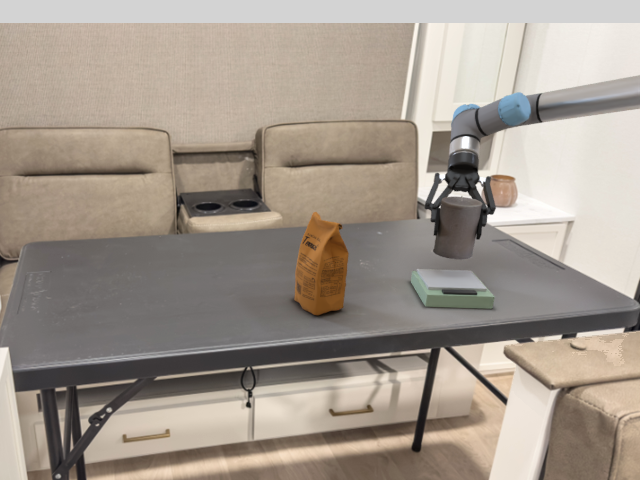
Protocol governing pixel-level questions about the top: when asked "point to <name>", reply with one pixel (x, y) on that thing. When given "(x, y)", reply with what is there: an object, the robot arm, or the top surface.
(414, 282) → the scale
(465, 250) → the pillar candle
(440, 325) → the top surface
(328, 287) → the coffee package
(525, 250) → the top surface
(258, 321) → the top surface
